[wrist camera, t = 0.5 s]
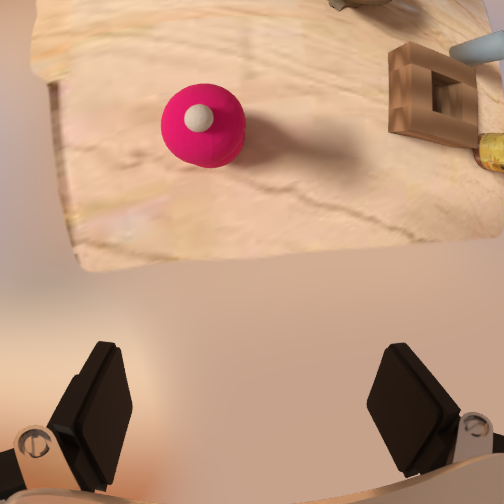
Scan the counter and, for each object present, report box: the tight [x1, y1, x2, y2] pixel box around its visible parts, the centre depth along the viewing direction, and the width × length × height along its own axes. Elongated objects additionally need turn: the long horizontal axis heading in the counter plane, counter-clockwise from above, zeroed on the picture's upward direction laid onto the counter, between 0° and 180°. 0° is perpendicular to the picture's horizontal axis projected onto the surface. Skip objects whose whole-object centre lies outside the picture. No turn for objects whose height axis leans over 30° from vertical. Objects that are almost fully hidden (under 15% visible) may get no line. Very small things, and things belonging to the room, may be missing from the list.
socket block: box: [388, 42, 478, 148], centre depth 33 cm, size 12×12×6 cm
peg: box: [449, 31, 504, 67], centre depth 28 cm, size 4×4×12 cm
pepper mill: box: [161, 84, 245, 168], centre depth 26 cm, size 7×7×20 cm
